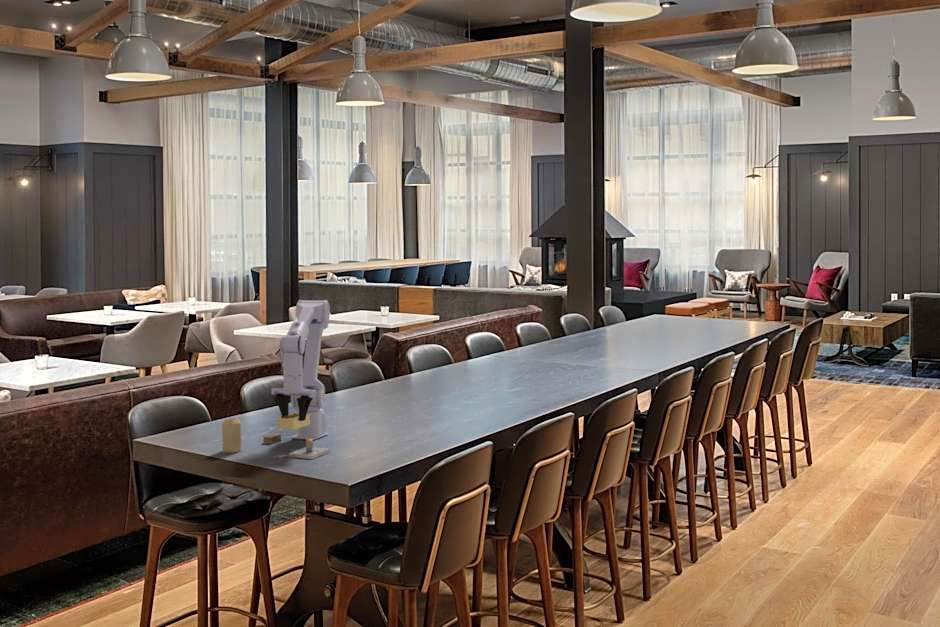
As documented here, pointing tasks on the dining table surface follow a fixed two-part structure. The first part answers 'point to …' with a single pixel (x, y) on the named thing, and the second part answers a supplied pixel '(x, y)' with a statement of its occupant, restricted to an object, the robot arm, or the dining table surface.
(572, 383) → the dining table surface
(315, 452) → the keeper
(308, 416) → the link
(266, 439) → the tan rectangular block
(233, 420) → the candle
